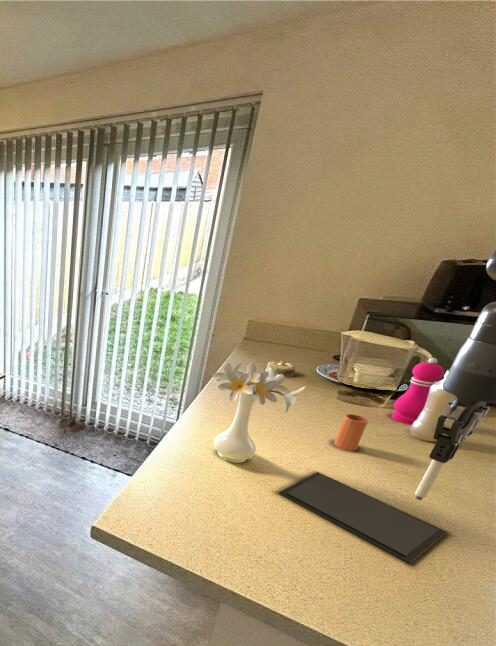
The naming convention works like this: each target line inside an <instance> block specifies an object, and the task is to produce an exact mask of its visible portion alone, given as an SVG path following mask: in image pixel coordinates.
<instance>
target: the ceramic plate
mask: <svg viewBox="0 0 496 646" xmlns="http://www.w3.org/2000/svg"><path fill="white" fill-rule="evenodd" d="M339 364H340V363H329V364H327V363H326V364H321V365H319V366H317V367H316V372H317V374H319V375H320V376H321V377H324V378H326V379H328V380H329V381H334V382H336V383H339V382H338V378H337V375H338V368H339ZM407 388H408V385H407V384H403V385H401V386H400V387H399V389H398V390H397V391H396V392H403V391H408V389H407Z"/></svg>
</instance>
